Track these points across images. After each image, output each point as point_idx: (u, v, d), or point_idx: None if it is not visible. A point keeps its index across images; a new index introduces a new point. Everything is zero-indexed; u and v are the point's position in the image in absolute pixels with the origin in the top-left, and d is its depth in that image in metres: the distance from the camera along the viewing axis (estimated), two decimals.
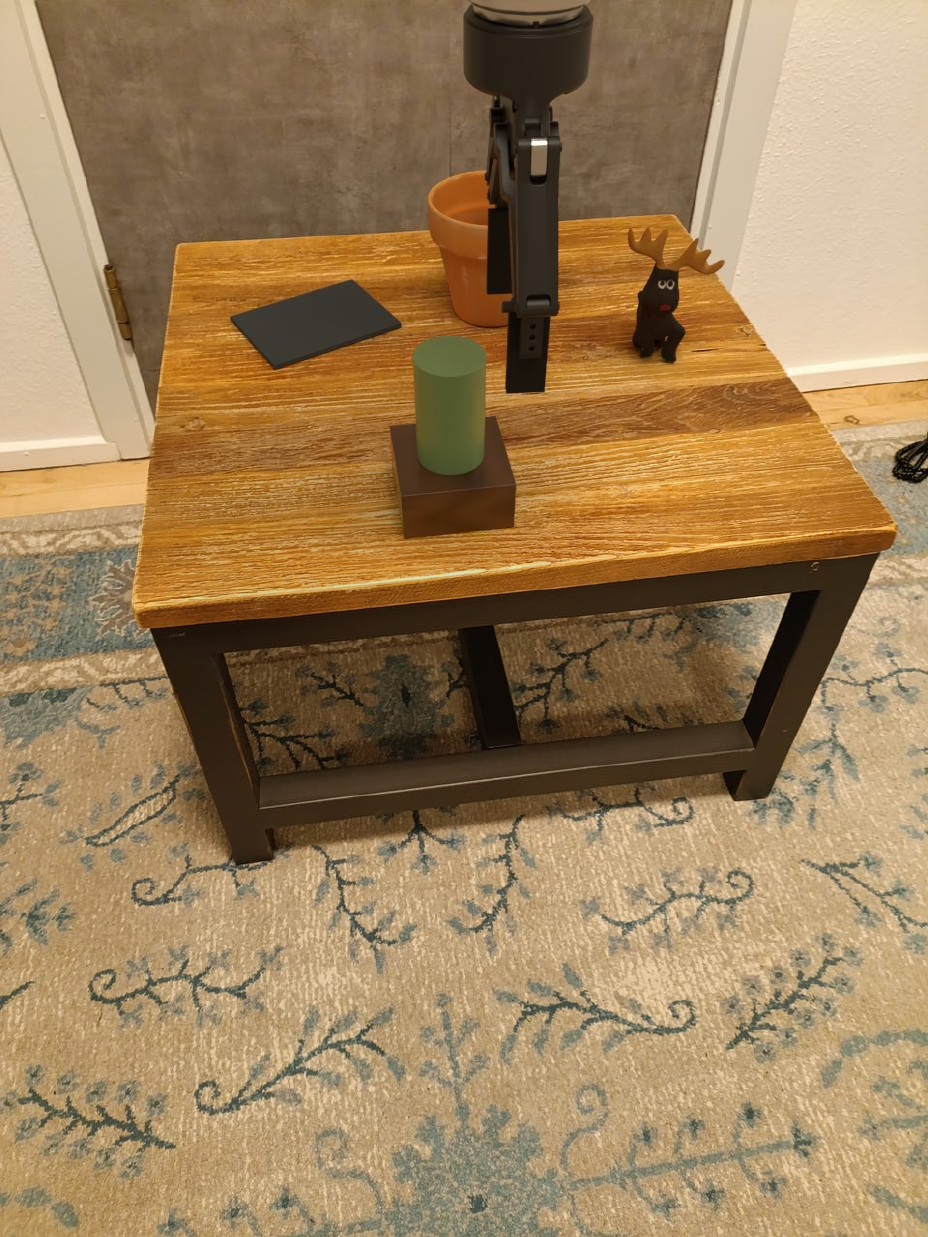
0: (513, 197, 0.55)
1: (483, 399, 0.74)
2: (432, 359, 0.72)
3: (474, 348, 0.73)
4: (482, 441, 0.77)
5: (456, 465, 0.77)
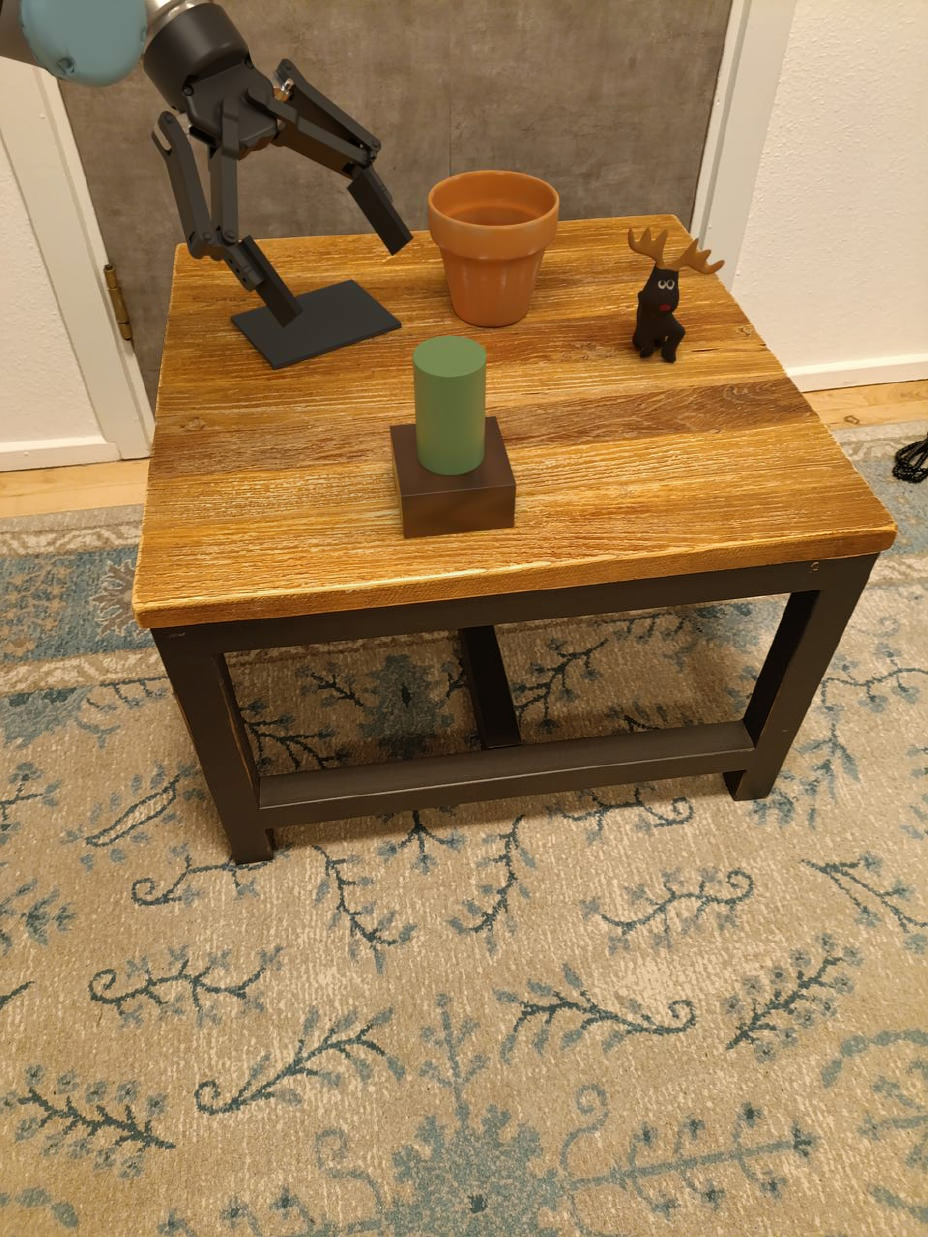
0: None
1: (483, 399, 0.74)
2: (432, 359, 0.72)
3: (474, 348, 0.73)
4: (482, 441, 0.77)
5: (456, 465, 0.77)
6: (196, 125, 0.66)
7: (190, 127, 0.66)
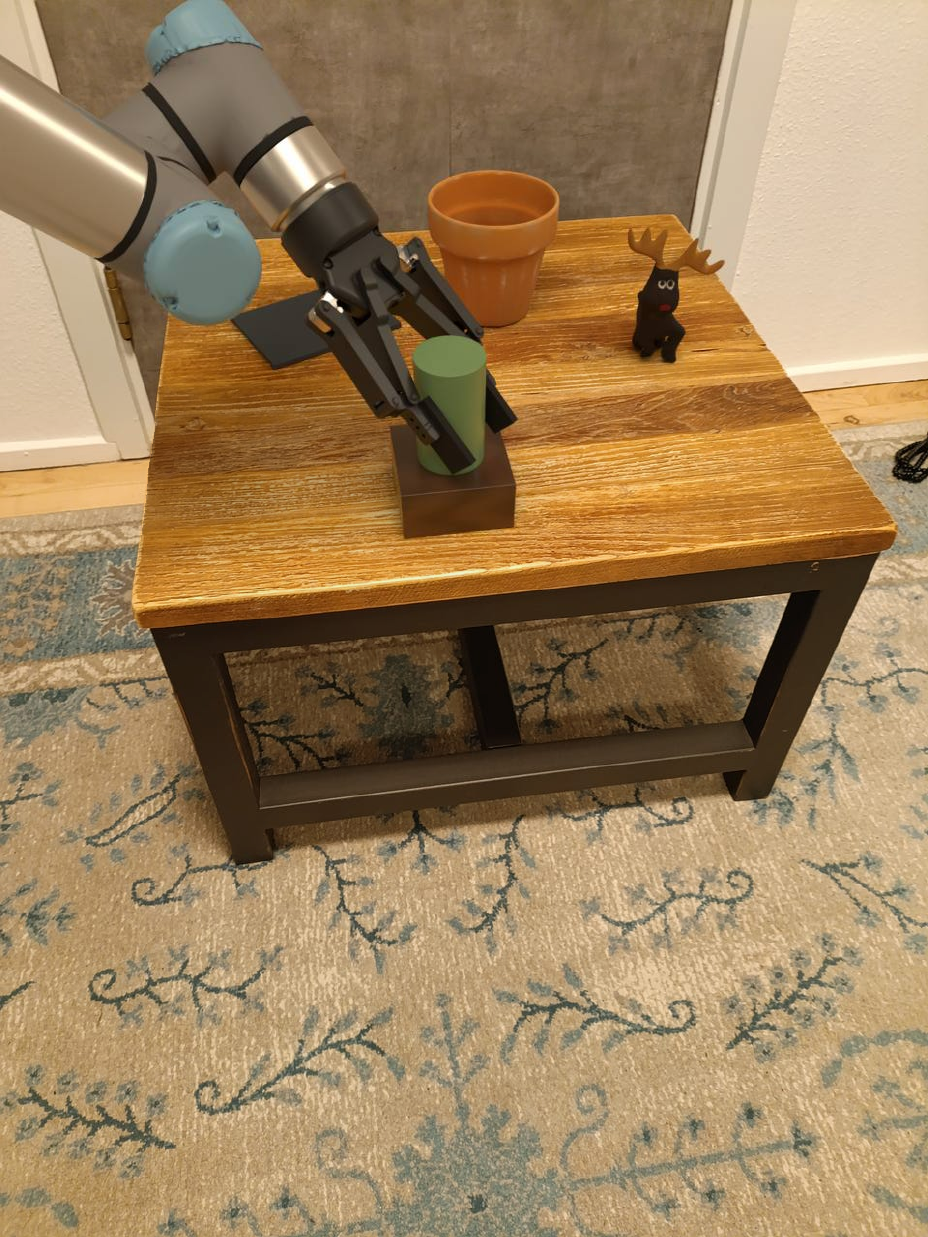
0: (419, 294, 0.74)
1: (483, 399, 0.74)
2: (432, 359, 0.72)
3: (474, 348, 0.73)
4: (482, 441, 0.77)
5: None
6: (335, 295, 0.69)
7: None
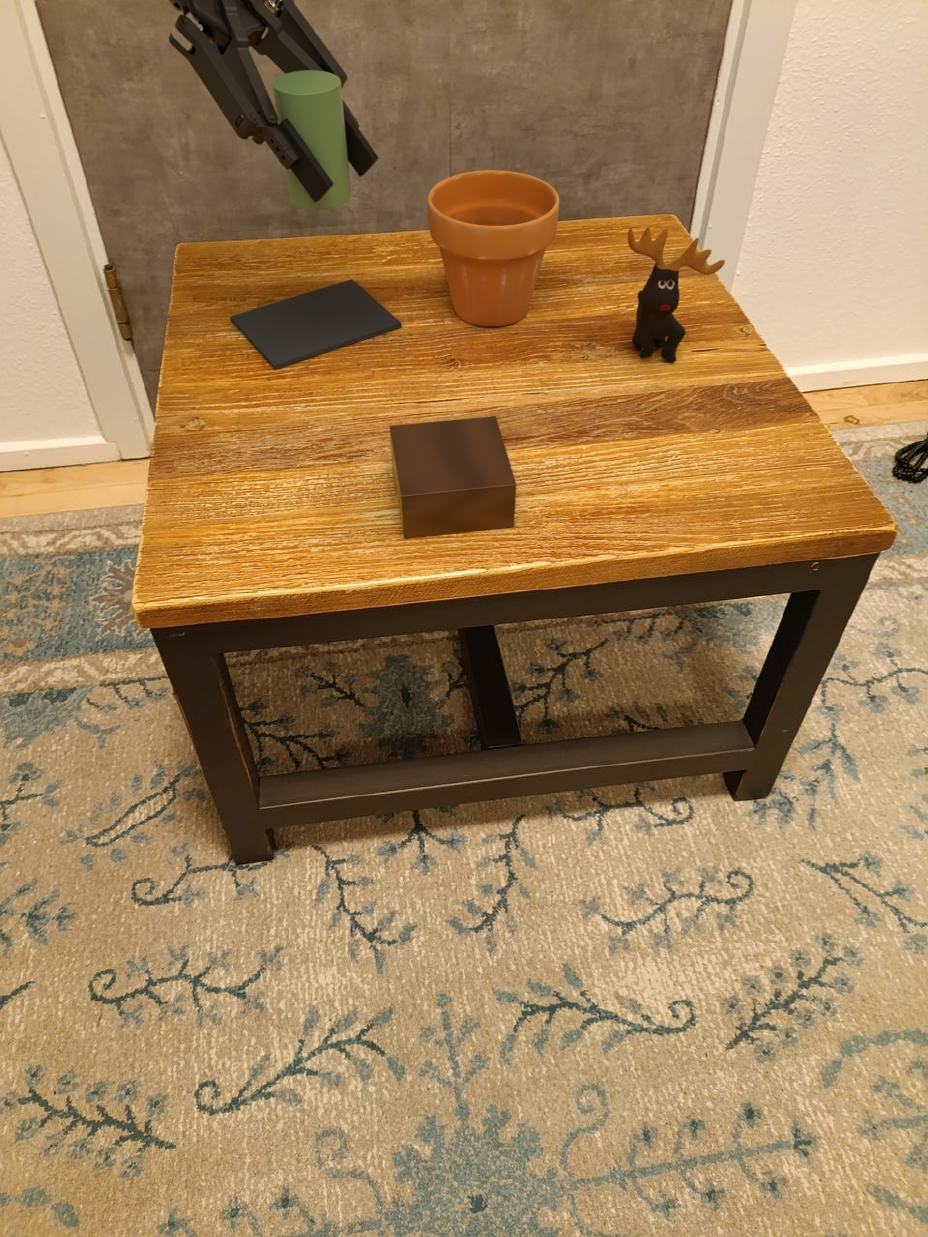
0: (282, 31, 0.81)
1: (341, 128, 0.81)
2: (290, 83, 0.78)
3: (330, 77, 0.79)
4: (345, 177, 0.84)
5: None
6: (197, 16, 0.76)
7: None
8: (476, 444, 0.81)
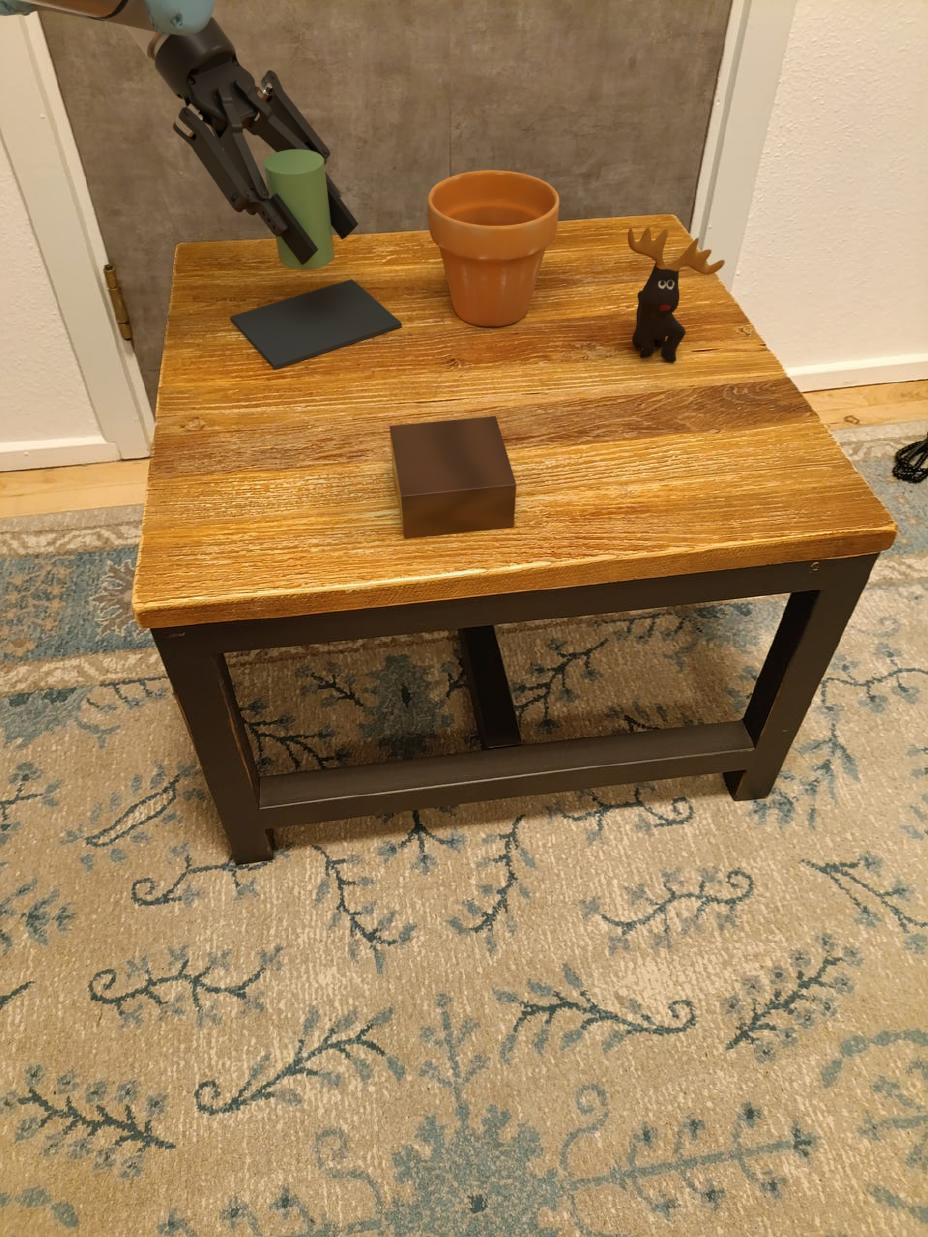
0: None
1: (324, 200, 0.92)
2: (279, 163, 0.89)
3: (315, 156, 0.90)
4: (329, 241, 0.95)
5: None
6: (197, 107, 0.87)
7: None
8: (476, 444, 0.81)
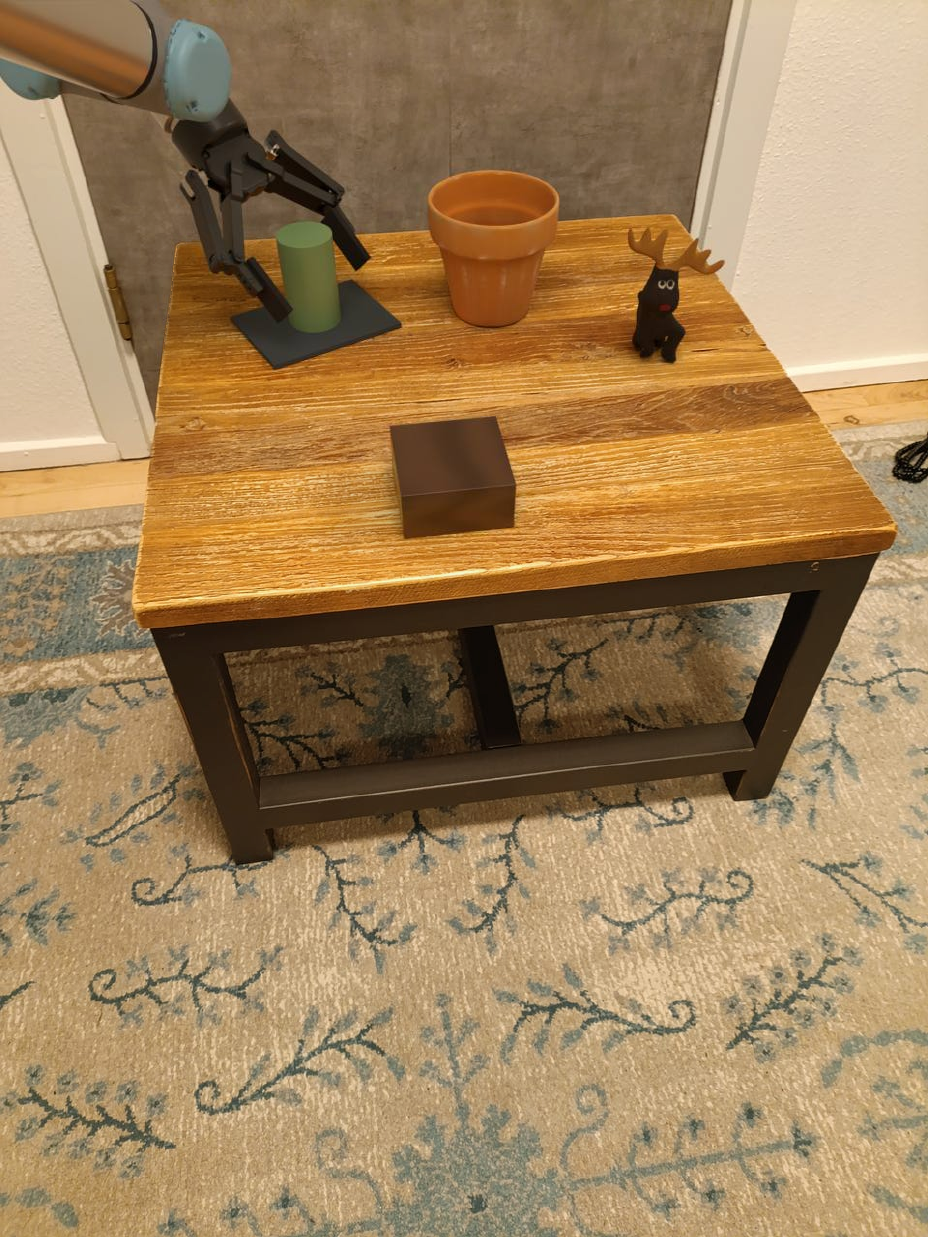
0: None
1: (332, 269, 0.97)
2: (290, 236, 0.95)
3: (323, 229, 0.96)
4: (336, 306, 1.00)
5: (316, 324, 1.00)
6: (212, 179, 0.92)
7: (207, 180, 0.92)
8: (476, 444, 0.81)
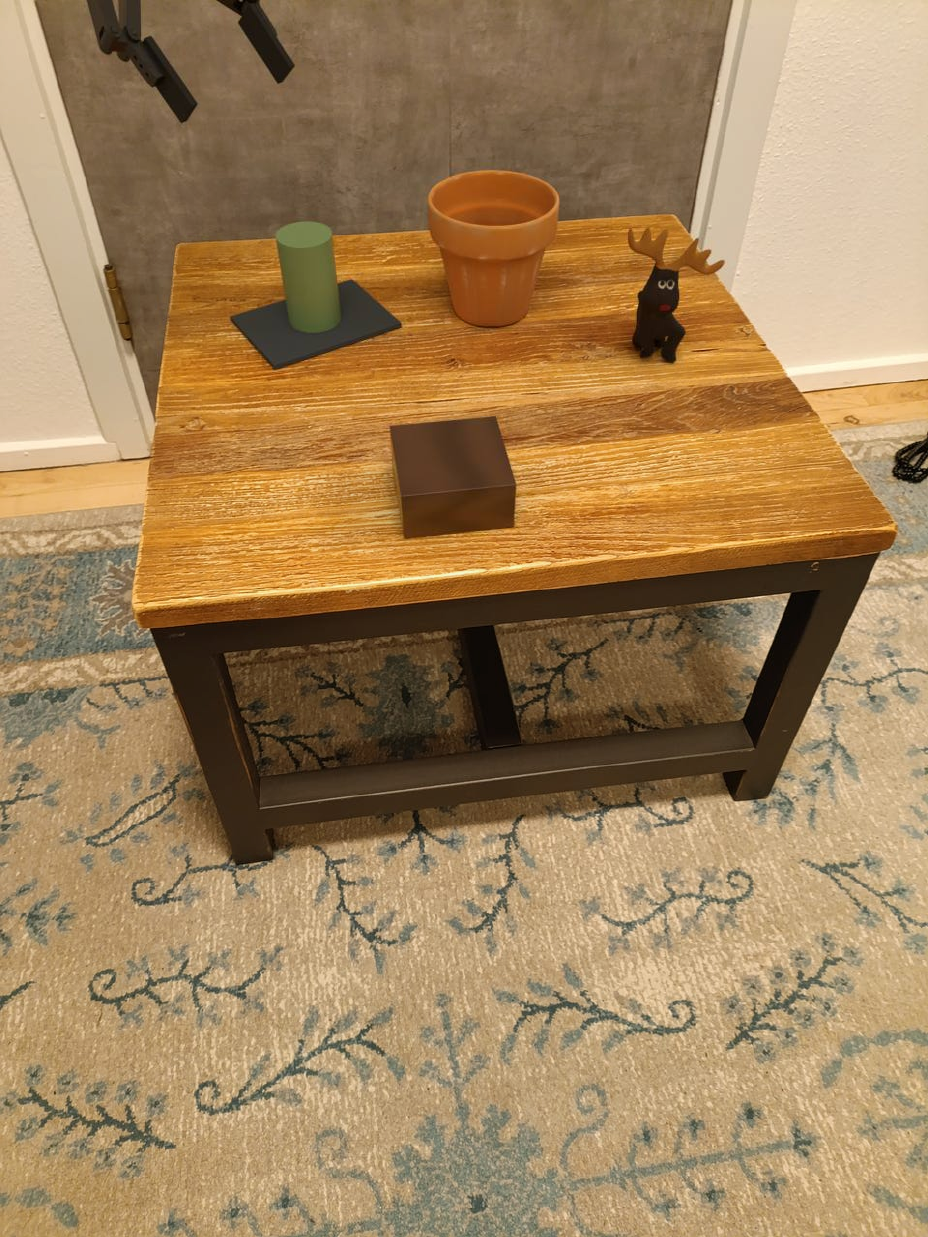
0: None
1: (332, 269, 0.97)
2: (290, 236, 0.95)
3: (323, 229, 0.96)
4: (336, 306, 1.00)
5: (316, 324, 1.00)
6: None
7: None
8: (476, 444, 0.81)
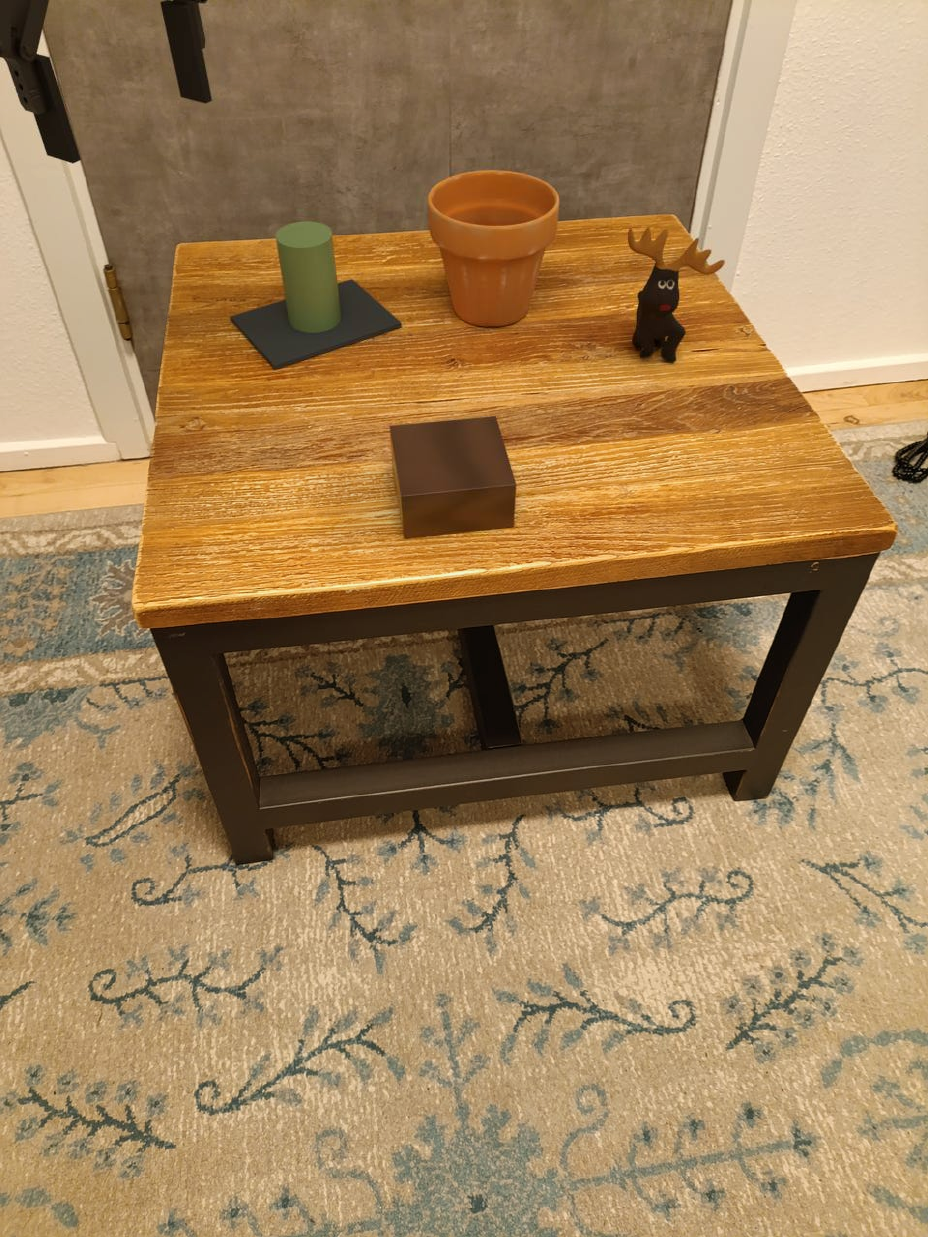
0: None
1: (332, 269, 0.97)
2: (290, 236, 0.95)
3: (323, 229, 0.96)
4: (336, 306, 1.00)
5: (316, 324, 1.00)
6: None
7: None
8: (476, 444, 0.81)
